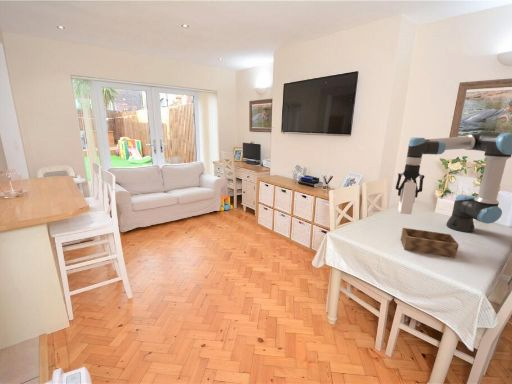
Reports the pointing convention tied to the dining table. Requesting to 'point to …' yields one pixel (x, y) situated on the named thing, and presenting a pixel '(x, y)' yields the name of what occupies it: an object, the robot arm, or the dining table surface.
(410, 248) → the crate
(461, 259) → the dining table surface
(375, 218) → the dining table surface
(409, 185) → the milk
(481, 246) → the dining table surface
